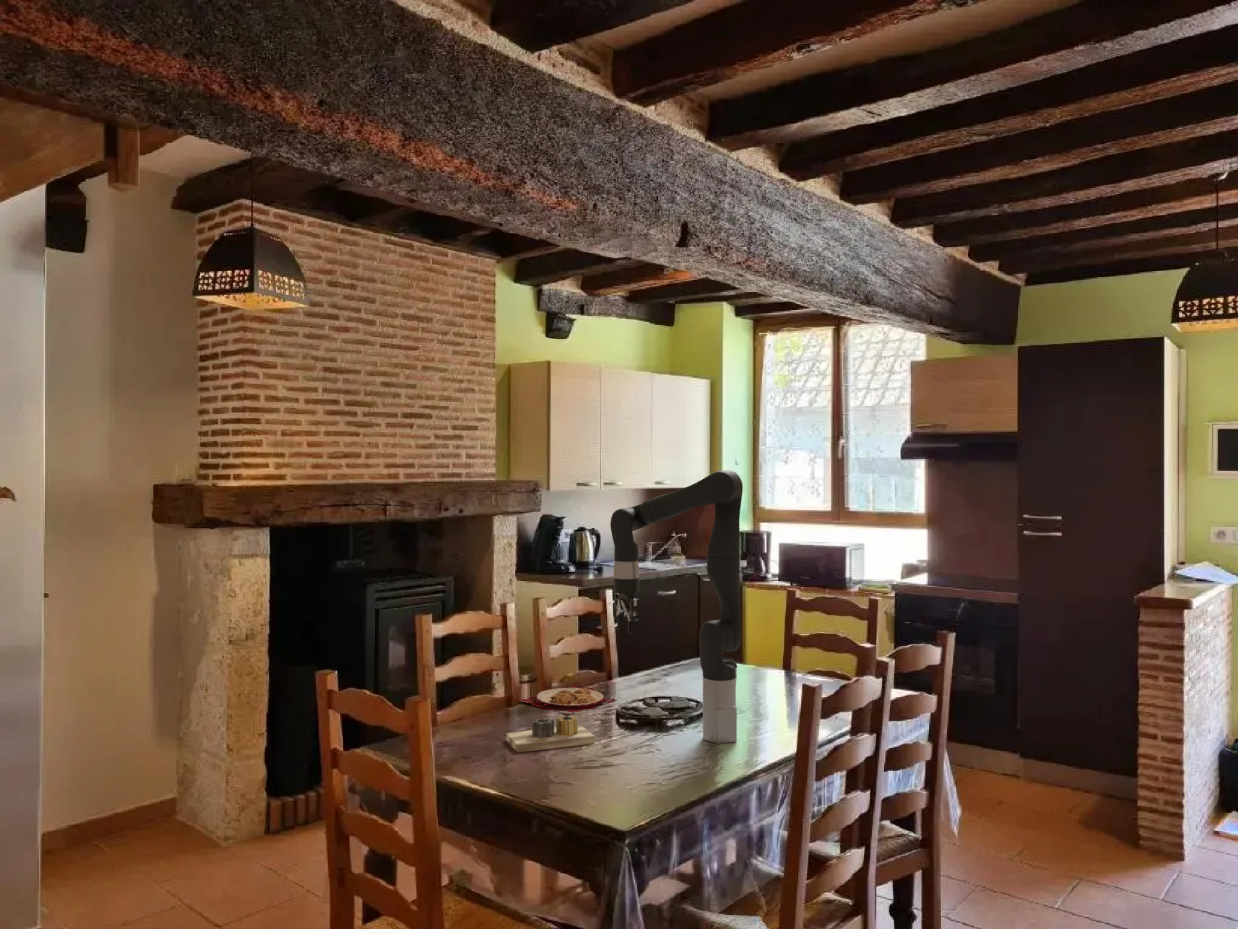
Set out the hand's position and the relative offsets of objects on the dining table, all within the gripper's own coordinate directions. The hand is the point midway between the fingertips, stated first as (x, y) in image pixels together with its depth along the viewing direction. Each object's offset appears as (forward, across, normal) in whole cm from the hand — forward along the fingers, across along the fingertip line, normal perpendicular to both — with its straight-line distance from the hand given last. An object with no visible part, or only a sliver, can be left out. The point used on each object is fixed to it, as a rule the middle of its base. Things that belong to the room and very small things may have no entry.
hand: (626, 631), depth 274 cm
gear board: (+28, -5, +25) cm, 38 cm away
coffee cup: (+28, +12, -38) cm, 49 cm away
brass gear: (+26, -5, +20) cm, 33 cm away
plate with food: (+29, +35, +5) cm, 46 cm away
